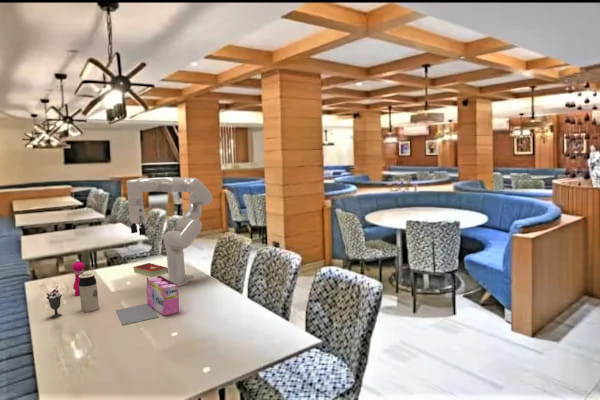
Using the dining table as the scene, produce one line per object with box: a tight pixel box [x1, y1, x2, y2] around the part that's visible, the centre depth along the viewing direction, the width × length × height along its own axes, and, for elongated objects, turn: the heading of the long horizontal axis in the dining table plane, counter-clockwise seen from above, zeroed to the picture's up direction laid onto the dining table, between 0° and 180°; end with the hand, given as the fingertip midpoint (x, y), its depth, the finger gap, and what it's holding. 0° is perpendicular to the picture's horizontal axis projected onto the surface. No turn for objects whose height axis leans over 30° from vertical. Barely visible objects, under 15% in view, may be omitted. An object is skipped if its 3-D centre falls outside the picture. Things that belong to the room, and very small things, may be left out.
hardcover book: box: [132, 262, 168, 278], centre depth 284 cm, size 12×21×4 cm, turn 51°
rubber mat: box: [115, 303, 159, 326], centre depth 213 cm, size 16×22×1 cm
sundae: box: [46, 287, 63, 319], centre depth 213 cm, size 7×7×15 cm
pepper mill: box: [72, 259, 85, 297], centre depth 245 cm, size 7×7×20 cm
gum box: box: [146, 275, 180, 316], centre depth 219 cm, size 24×8×14 cm, turn 39°
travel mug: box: [79, 272, 100, 313], centre depth 220 cm, size 8×8×18 cm
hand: (138, 233), depth 237 cm, fingers open, 9 cm apart
